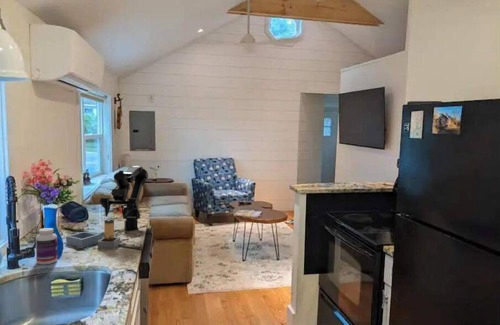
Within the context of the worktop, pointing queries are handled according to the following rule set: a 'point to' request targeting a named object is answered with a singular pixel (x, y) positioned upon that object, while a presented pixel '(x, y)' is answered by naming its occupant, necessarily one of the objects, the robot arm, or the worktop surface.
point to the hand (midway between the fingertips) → (114, 216)
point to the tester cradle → (108, 243)
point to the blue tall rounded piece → (42, 217)
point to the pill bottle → (46, 246)
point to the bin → (82, 239)
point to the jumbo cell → (109, 230)
